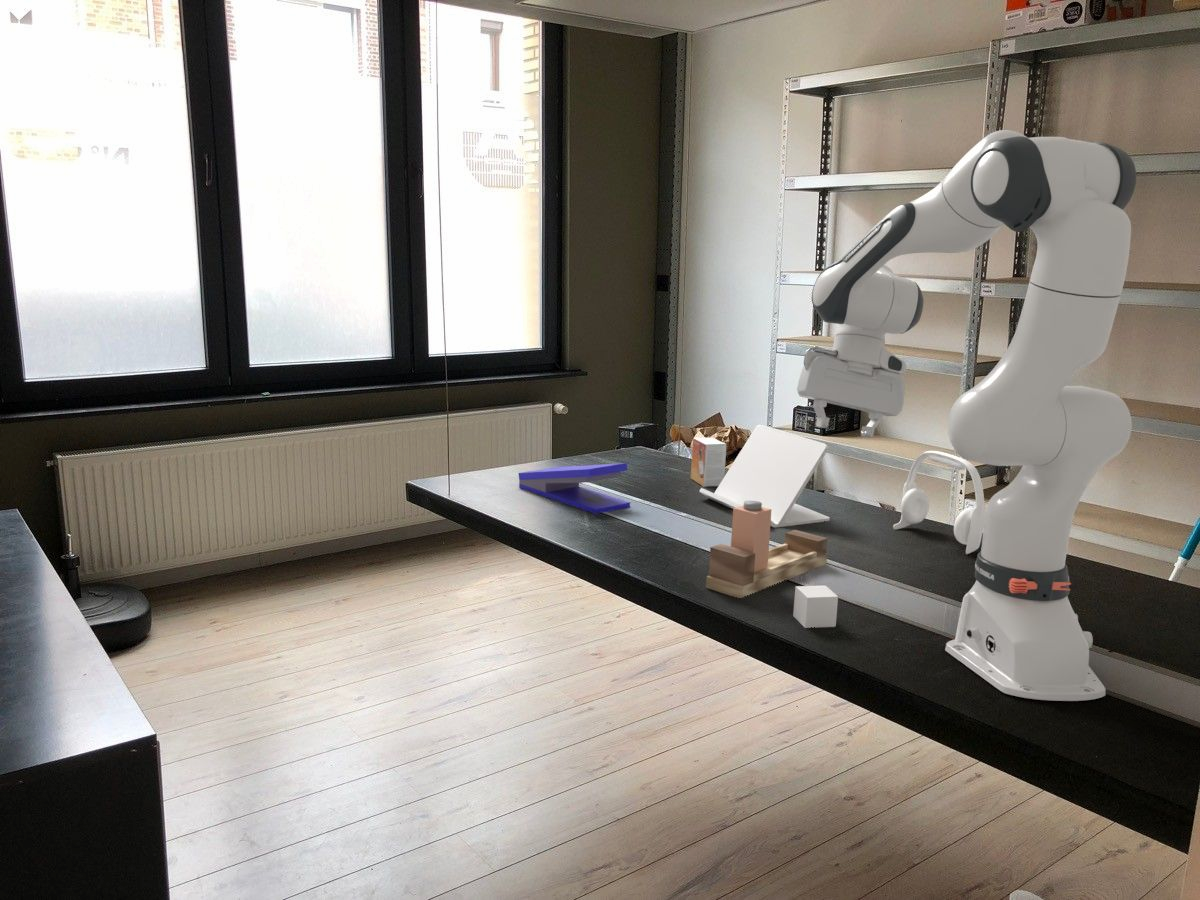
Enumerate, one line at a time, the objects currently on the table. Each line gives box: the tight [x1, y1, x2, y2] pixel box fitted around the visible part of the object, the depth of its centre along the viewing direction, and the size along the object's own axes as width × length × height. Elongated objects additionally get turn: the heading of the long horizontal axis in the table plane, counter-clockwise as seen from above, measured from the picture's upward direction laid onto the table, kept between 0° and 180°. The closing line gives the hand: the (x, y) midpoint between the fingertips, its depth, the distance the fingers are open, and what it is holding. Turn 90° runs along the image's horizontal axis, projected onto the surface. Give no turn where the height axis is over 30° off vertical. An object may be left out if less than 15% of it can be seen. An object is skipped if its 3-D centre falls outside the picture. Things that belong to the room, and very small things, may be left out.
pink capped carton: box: [730, 501, 772, 574], centre depth 165 cm, size 5×5×12 cm
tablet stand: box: [698, 424, 830, 529], centre depth 213 cm, size 18×25×17 cm
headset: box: [892, 450, 987, 555], centre depth 194 cm, size 20×7×18 cm, turn 24°
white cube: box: [792, 584, 839, 629], centre depth 150 cm, size 5×5×5 cm
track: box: [705, 529, 828, 599], centre depth 171 cm, size 27×7×7 cm, turn 136°
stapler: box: [518, 462, 631, 515], centre depth 220 cm, size 12×28×10 cm, turn 41°
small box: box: [690, 437, 727, 488], centre depth 237 cm, size 8×6×10 cm
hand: (844, 432), depth 173 cm, fingers open, 8 cm apart
